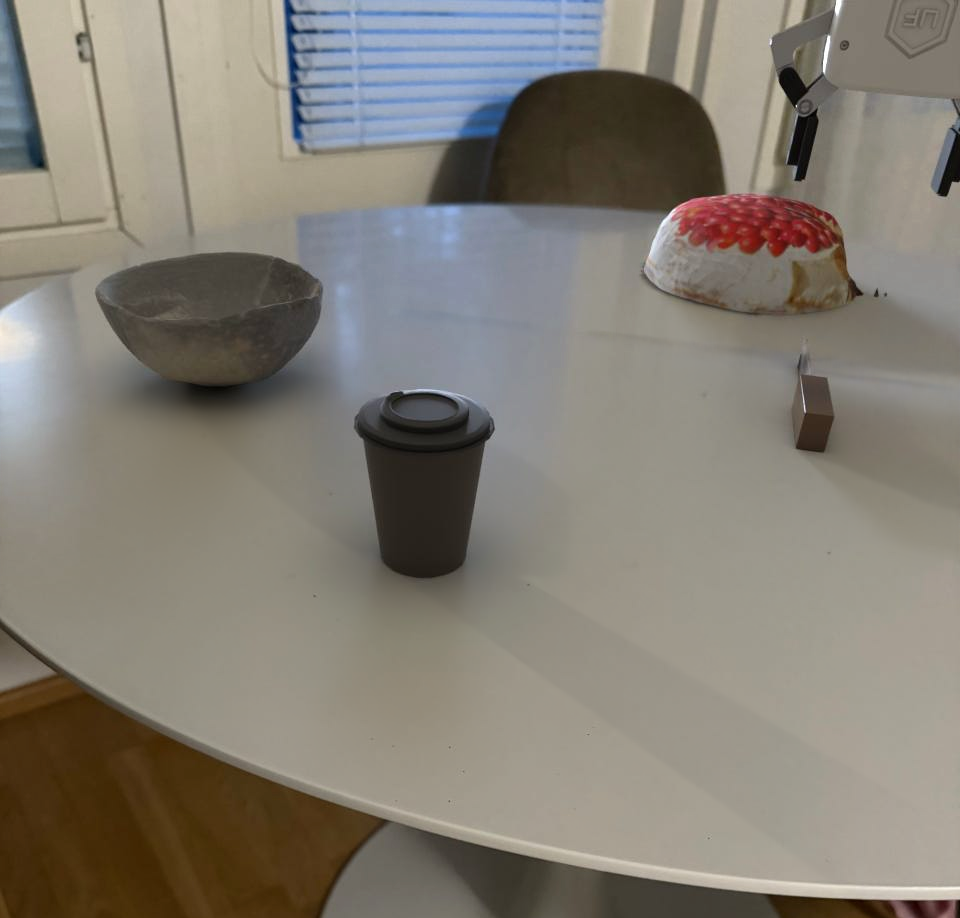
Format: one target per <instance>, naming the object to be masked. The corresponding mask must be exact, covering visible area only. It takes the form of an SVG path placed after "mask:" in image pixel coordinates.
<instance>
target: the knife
mask: <svg viewBox="0 0 960 918" xmlns="http://www.w3.org/2000/svg"><path fill="white" fill-rule="evenodd" d="M800 352H801V353H800V354H799V358H798V364H797V373H798V381H797V384H796V388H795V393H794V396H793V400H792V404H791V416H792V417H791V418H792V425H793V426H792V427H793V436H794V444H795V446H794V447H795V449H797V450H798V449H800V450H806V451H815V452H820V453H824V452H825V451H826V447H827V445H828V441H829V437H830V433H831V430H832V428H833V427H832V426H833V423H834V420H835V411H834V407H833V401H832V396H831V391H830V386H829V385H830V384H829V380H828V377H827V376H820V375H819V376H818V375H814V371H813V365H812V359H811V353H810V352H811V351H810V345H809V340H808V338H804V339H803V343H802V347H801V351H800Z"/></svg>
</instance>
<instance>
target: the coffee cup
mask: <svg viewBox="0 0 960 918" xmlns="http://www.w3.org/2000/svg"><path fill="white" fill-rule="evenodd" d="M353 430H354V431H355V432H356V434H357V436H358V437H359V438H361V440H362V441H363V442H362V443H363V448H364V455H365V460H366V467H367V468H366V469H367V473H368V481H369V487H370V493H371V500H372V507H373V511H374V512H373V513H374V520H375V525H376V526H375V527H376V531H377V533H376V534H377V538H378V539H377V540H378V544H379V545H378V547H379V551H380V558H381V559H382V561H383V563H384V565H386V566H387V568H389V569H391V570H392V571H394V572H397V573H399V574H402V575H404V576H410V577H416V578H433V577H439V576H444V575H447V574H449V573H451V572H454V571H455V570H457V569H459V568H460V567H461V566H462V565H463V563H464V561H466V557H467V551H468V546H469V541H470V534H471V529H472V522H473V517H474V516H473V515H474V511H475V506H476V499H477V493H478V488H479V487H478V486H479V481H480V475H481V469H482V464H483V458H484V452H485V447H486V442H487V441H489V440H490V439H491V437H492V435H493V433H494V432H495V430H496V427H495V421H494V418H493V417H491V414H490V412H489V411H488V409H487V408H486V406H484V405H483V404H482V403H481V402H478V401H477V400H475V399H473V398H471V397H469V396H467V395H466V396H465V395H463V394H460V393H456V392H451V391H446V390H440V389H439V390H437V389H427V388H426V389H425V388H424V389H423V388H420V389H419V388H418V389H413V388H412V389H404V390H400V389H399V390H396V391H392V392H387V393H384V394H381V395H378V396H376V397H372V398H371V399H370V400H368V401H366V402H365V403H364V404H363V405H362V406H361V407H360V409H359V411H358V413H357V414H356V415H355V417H354V422H353Z"/></svg>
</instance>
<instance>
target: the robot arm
mask: <svg viewBox="0 0 960 918" xmlns="http://www.w3.org/2000/svg"><path fill="white" fill-rule="evenodd" d="M824 36H825V40H824V45H823V50H822V55H821V56H822V57H821V63H820V65H821V72H820V73H819V74H818V75H817V76H816V77H815V78H814V79H813V80H811V81H810V82H809V83H808V84H807V86H806V85H805V82H804V81H803V79H802V78H801V76H800V75H799V73H798V72H797V68H796V64H795V59H794V53H795V51H796V50H797V49H798V48H799V47H802V46H803V45H805V44H808V43H810V42H813V41H814V40H817V39H819V38H822V37H824ZM769 47H770V51H771V56H772V59H773V64H774V68H775V71H776V76H777V80H778V83H779V86H780V88H781V89H782V90H783V93H784V94H785V96H786V97H787V99H788V100H789V102H790V104H791V105H792V107H793V109H794V110H795V112H796V115H795V119H794V124H793V128H792V133H791V137H790V140H789V146H788V149H787V155H786V160H785V166H793V168H792V178H793V182H798V183H799V182H802V181H805V180H806V177H807V173H808V168H809V164H810V161H811V158H812V157H811V156H812V152H813V149H814V144H815V141H816V140H815V139H816V134H817V132H818V128H819V123H820V120H819V116H818V115H817V114H818V110H819V107H820V106H821V105H822V104H823V103H824V102H825V101H826V100H828V99H829V98H830V97H831V96H832V95H833V94H834V93H835V92H836V91H837V90H838V89H842V90H848V91H854V92H862V93H863V92H864V93H873V94H883V95H884V94H885V95H895V96H906V97H917V98H927V99H928V98H929V99H942V100H950V102H951V104H952V106H953V108H954V111H955V113H956V116H957V117H956V119H955V123H954V124H952V125H951V127H948V129H947V131H946V134H945V137H944V139H943V144H942V146H941V150H940V154H939V157H938V159H937V161H936V166H935V168H934V173H933V176H932V179H931V182H930V188H931V189H932V190H933V192H934V194H936V195H937V196H938V197H941V198H947V197H948V195H949V193H950V190H951V187H952V184H953V183H960V0H835V3H834V6H833V7H831V8H828V9H827V10H824V11H821V12H820V13H817V14H815V15H813V16H811V17H808V18H807V19H805V20H803V21H800V22H798V23H795V24H794V25H792V26H789V27H787V28H785V29H783V30H781V31H779V32H776V33H775V34H773V35H772V36H771V38H770V39H769Z"/></svg>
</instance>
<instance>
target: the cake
mask: <svg viewBox="0 0 960 918" xmlns="http://www.w3.org/2000/svg"><path fill="white" fill-rule="evenodd" d="M847 264H848V263H847V253H846V248H845V240H844V233H843V231H842V228H841V226H840V224H839V222H838V221H837V219H836V218H835V217H834V215H832V214H831V213H829V212H827V211H825V210H822V209H820V208H818V207H815V206H814V205H813V204H810V203H807V202H805V201H800V200H796V199H792V198H788V197H783V196H775V195H768V194H761V193H751V192H750V193H749V192H748V193H729V194H722V195H714V196H713V195H712V196H702V197H696V198H691V199H689V200H688V201H685V202H683V203H680V204H679V205H677V206H676V207H674V208H673V209H672V210H671V211H670V212H669V214H668V215H667V216H666V217H665V218H664V219H663V220H662V222H661V223H660V225H659V226H658V229H657V232H656V234H655V237H654V239H653V241H652V243H651V247H650V251H649V253H648V256H647V258H646V262H645V264H644V267H643V273H644V274H645V275H646V276H647V278H648V280H649V281H651V283H653V285H655V286H656V287H657V288H658V289H660V290H662V291H664V292H666V293H667V294H671V295H673V296H675V297H676V296H677V297H680V298H683V299H686V300H690V301H694V302H696V303H700V304H704V305H709V306H714V307H718V308H722V309H727V310H731V311H736V312H742V313H749V314H761V315H784V316H785V315H800V314H802V315H803V314H811V313H816V312H822V311H829V310H830V311H831V310H833V309H836V308H841V307H844V306H846V305H848V304H849V303H851V302H853V301H855V298H856V297H858V296H863V295H864V292H863V291H862V290H861V289H860V288H859V287H858V286H857V282H855V281H854V279H853V278H852V277H851V275H850V274H849V271H848V267H847ZM879 296H880V294H879V289H878V287H876V289H875V291H874V294H873V297H874V298H878V297H879ZM883 296H884V298H886V297H888V292H885V293H883Z"/></svg>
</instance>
